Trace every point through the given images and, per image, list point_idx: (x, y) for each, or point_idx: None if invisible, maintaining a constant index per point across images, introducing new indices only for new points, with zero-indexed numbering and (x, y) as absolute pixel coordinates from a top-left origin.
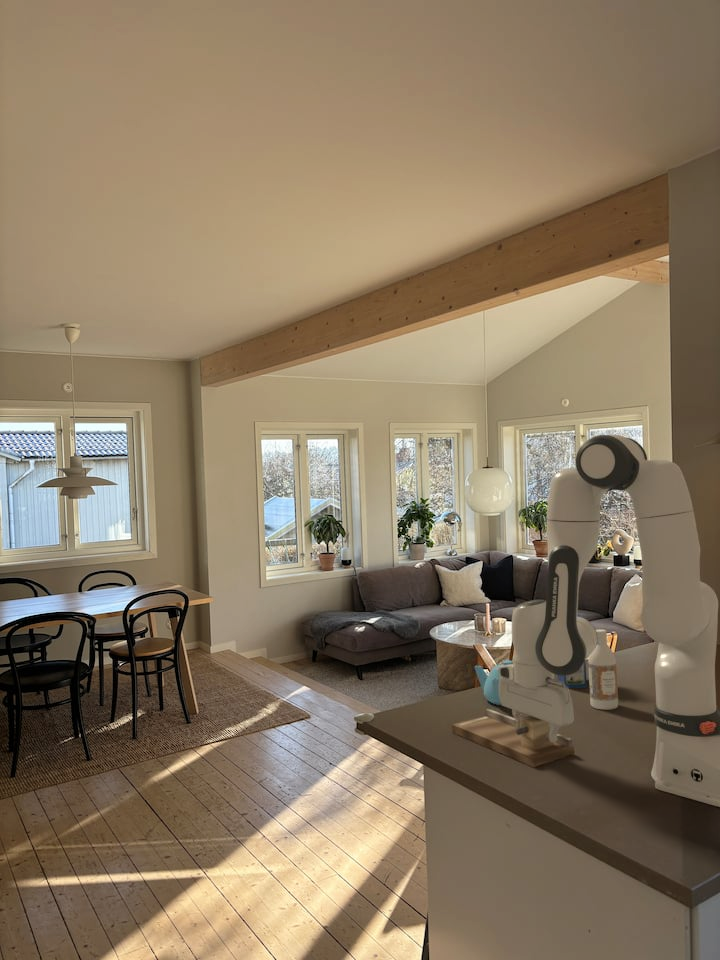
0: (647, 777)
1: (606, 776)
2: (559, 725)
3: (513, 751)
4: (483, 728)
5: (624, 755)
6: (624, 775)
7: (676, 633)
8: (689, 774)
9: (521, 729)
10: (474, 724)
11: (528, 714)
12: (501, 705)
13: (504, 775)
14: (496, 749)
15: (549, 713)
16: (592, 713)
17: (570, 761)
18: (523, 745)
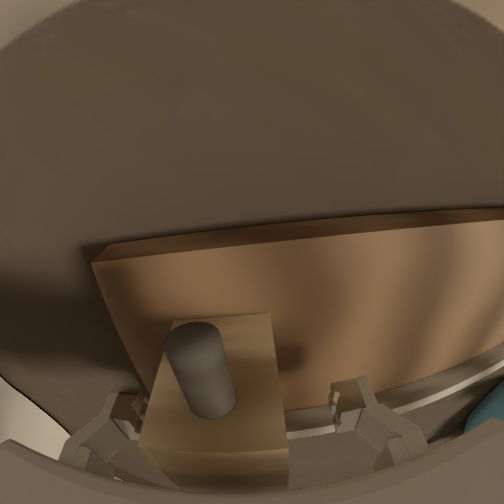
0: (28, 393)
1: (27, 356)
2: (9, 441)
3: (239, 241)
4: (499, 281)
5: (132, 443)
6: (33, 380)
7: None
8: None
9: (174, 371)
10: None
11: (236, 498)
12: (501, 382)
13: (94, 81)
14: (372, 218)
15: (34, 498)
16: (354, 476)
17: (126, 370)
18: (250, 318)
